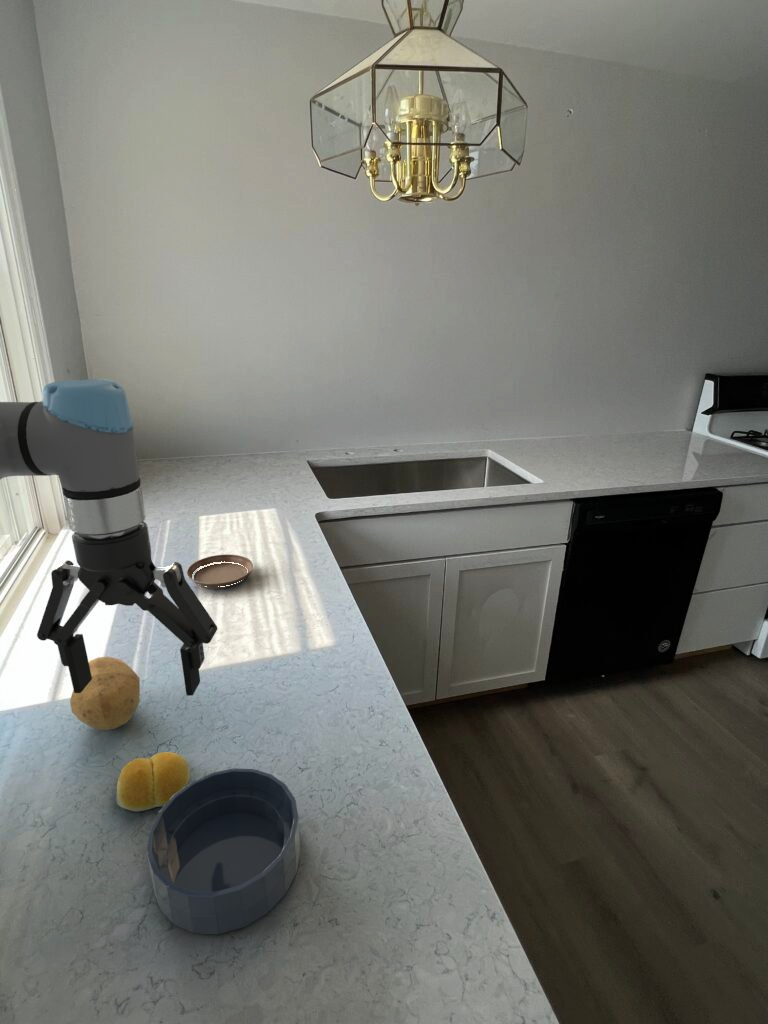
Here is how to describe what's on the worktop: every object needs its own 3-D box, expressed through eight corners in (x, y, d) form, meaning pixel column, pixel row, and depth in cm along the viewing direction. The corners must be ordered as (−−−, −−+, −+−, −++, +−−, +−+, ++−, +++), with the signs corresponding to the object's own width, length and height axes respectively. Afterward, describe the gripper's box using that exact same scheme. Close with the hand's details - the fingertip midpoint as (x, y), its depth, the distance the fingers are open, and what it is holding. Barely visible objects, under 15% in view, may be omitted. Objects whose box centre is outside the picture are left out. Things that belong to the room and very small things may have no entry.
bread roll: (192, 801, 72) (189, 777, 70) (116, 822, 69) (111, 798, 67) (188, 755, 79) (185, 733, 78) (119, 773, 76) (115, 750, 74)
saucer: (230, 598, 121) (229, 587, 120) (174, 586, 125) (172, 576, 125) (265, 569, 134) (264, 559, 133) (213, 560, 139) (212, 550, 138)
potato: (77, 759, 78) (66, 713, 75) (73, 700, 89) (64, 658, 87) (151, 735, 82) (144, 691, 80) (139, 682, 94) (132, 642, 91)
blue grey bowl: (128, 934, 57) (119, 893, 54) (185, 802, 72) (180, 766, 69) (285, 940, 56) (282, 899, 54) (309, 806, 71) (307, 770, 69)
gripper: (233, 515, 64) (247, 670, 71) (18, 512, 64) (55, 666, 72) (212, 541, 57) (231, 710, 64) (-28, 537, 57) (18, 705, 65)
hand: (138, 687), depth 68 cm, fingers open, 13 cm apart
